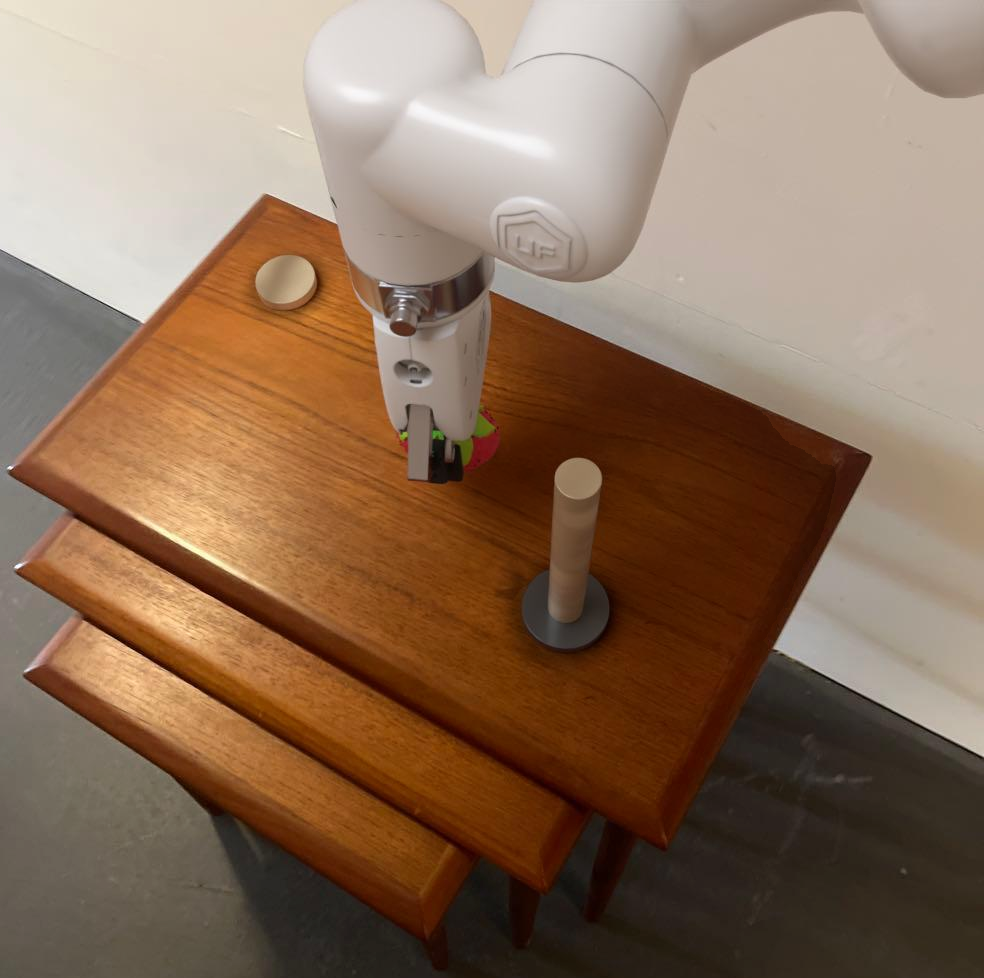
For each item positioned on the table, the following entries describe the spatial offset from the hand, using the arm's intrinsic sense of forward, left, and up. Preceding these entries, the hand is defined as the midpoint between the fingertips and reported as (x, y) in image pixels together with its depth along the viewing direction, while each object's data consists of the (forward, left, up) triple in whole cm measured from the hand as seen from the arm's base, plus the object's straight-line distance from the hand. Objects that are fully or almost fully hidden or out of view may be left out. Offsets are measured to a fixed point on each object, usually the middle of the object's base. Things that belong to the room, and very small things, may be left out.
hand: (446, 429), depth 65 cm
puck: (+16, -17, -8) cm, 25 cm away
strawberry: (0, 0, -5) cm, 5 cm away
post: (-9, +9, -8) cm, 15 cm away
